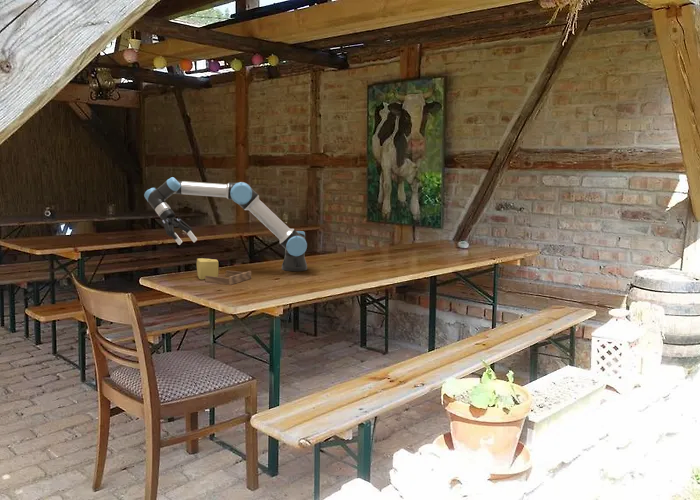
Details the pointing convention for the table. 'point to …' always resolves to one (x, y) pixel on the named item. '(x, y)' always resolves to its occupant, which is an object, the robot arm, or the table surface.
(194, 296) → the table surface
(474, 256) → the table surface
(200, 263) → the cheese
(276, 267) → the table surface
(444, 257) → the table surface
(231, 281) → the brown wooden u frame
